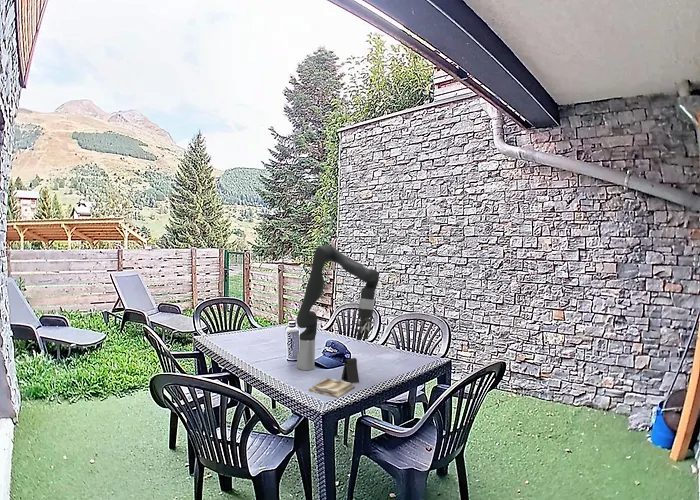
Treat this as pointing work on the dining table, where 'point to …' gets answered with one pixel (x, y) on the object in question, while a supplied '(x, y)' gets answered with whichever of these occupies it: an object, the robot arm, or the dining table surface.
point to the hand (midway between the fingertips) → (362, 339)
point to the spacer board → (332, 387)
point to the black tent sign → (350, 371)
